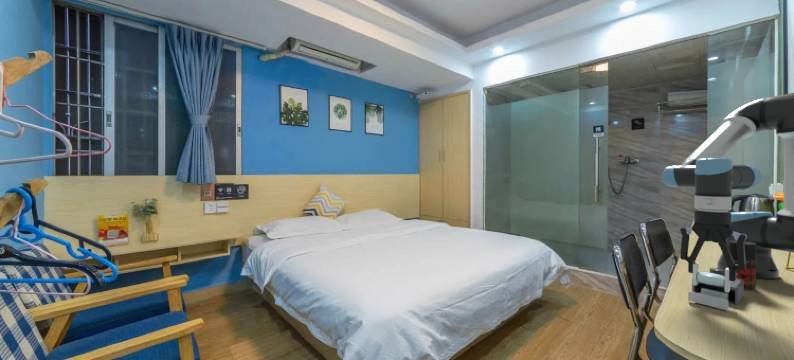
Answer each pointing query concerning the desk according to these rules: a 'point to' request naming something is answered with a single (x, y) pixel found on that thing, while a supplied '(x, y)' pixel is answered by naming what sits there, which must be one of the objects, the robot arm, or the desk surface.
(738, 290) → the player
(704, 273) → the pale blue flat dome
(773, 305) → the desk surface
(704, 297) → the tray
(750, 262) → the deodorant
